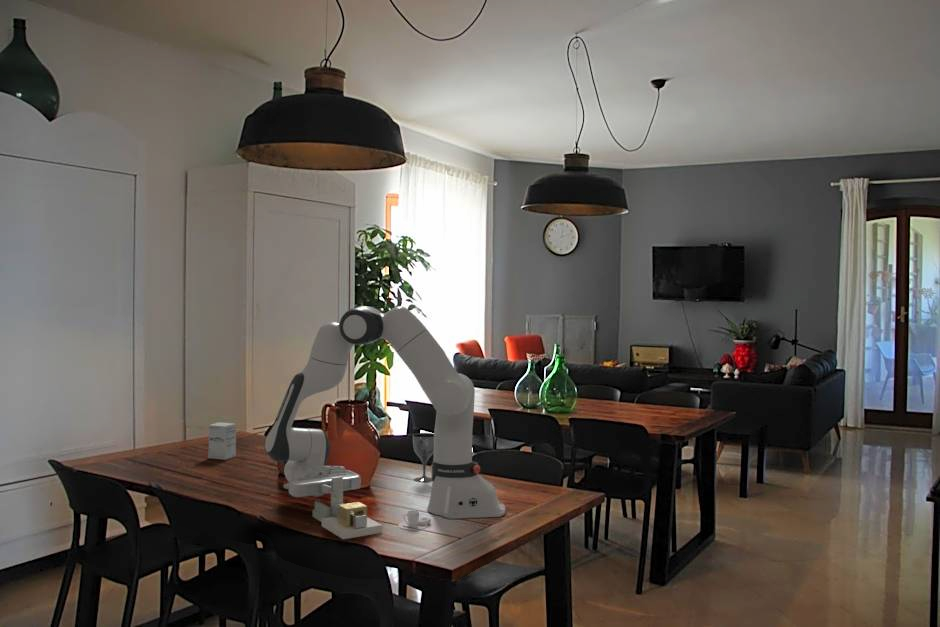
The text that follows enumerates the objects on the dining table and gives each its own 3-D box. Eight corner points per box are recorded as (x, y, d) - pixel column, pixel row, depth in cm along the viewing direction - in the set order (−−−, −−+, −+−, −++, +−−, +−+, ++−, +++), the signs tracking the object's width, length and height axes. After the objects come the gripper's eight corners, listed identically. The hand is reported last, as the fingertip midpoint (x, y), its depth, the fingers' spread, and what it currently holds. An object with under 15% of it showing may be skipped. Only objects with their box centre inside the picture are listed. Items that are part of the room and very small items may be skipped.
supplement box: (207, 458, 295) (207, 424, 295) (219, 455, 302) (219, 421, 302) (225, 460, 293) (225, 426, 293) (236, 456, 300) (236, 423, 300)
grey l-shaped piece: (330, 514, 216) (331, 477, 216) (341, 512, 218) (341, 476, 217) (355, 528, 203) (356, 489, 203) (366, 526, 205) (366, 487, 205)
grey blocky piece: (312, 516, 221) (312, 501, 221) (335, 513, 225) (335, 498, 225) (323, 523, 215) (323, 507, 215) (347, 519, 219) (347, 504, 219)
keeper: (338, 522, 209) (338, 504, 209) (358, 519, 212) (358, 501, 212) (346, 527, 205) (346, 509, 205) (366, 524, 208) (367, 506, 208)
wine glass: (408, 481, 264) (409, 436, 264) (417, 476, 272) (417, 432, 272) (431, 483, 262) (431, 437, 262) (439, 478, 270) (439, 433, 269)
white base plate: (321, 526, 213) (321, 518, 213) (358, 519, 219) (358, 512, 219) (343, 539, 201) (343, 531, 201) (382, 532, 208) (382, 524, 208)
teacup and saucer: (431, 522, 218) (431, 508, 218) (430, 531, 211) (431, 516, 210) (399, 522, 218) (399, 508, 218) (397, 531, 210) (397, 516, 210)
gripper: (281, 473, 222) (300, 483, 211) (348, 465, 234) (369, 474, 222) (281, 496, 222) (300, 507, 211) (347, 486, 234) (369, 497, 223)
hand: (336, 490), depth 217 cm, fingers closed, pressing on grey l-shaped piece
